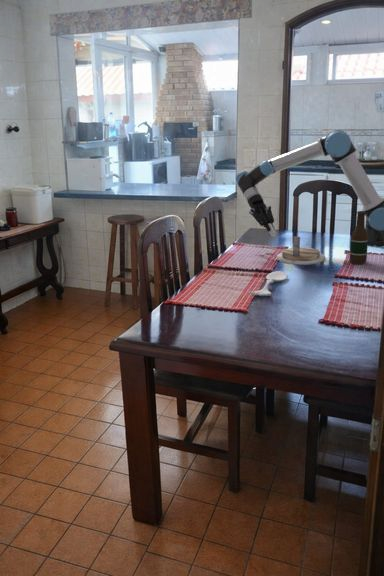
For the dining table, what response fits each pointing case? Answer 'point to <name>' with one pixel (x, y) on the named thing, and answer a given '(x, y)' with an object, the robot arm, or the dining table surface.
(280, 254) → the white plate
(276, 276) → the spoon
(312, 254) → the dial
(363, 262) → the beer bottle
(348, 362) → the dining table surface
